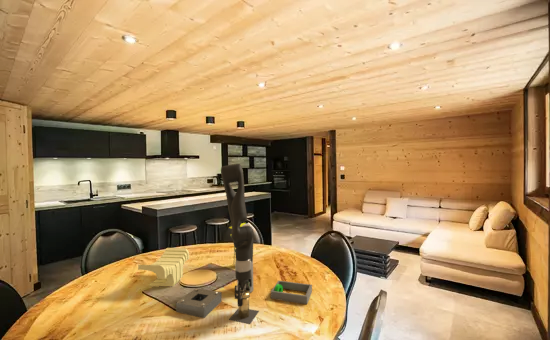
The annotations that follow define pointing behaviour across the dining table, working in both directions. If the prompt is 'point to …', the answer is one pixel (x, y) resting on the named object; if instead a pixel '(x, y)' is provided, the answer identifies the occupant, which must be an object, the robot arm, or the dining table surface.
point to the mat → (246, 320)
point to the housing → (199, 302)
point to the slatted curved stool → (168, 267)
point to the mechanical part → (279, 288)
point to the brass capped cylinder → (244, 305)
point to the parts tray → (290, 296)
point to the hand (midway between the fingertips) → (243, 301)
